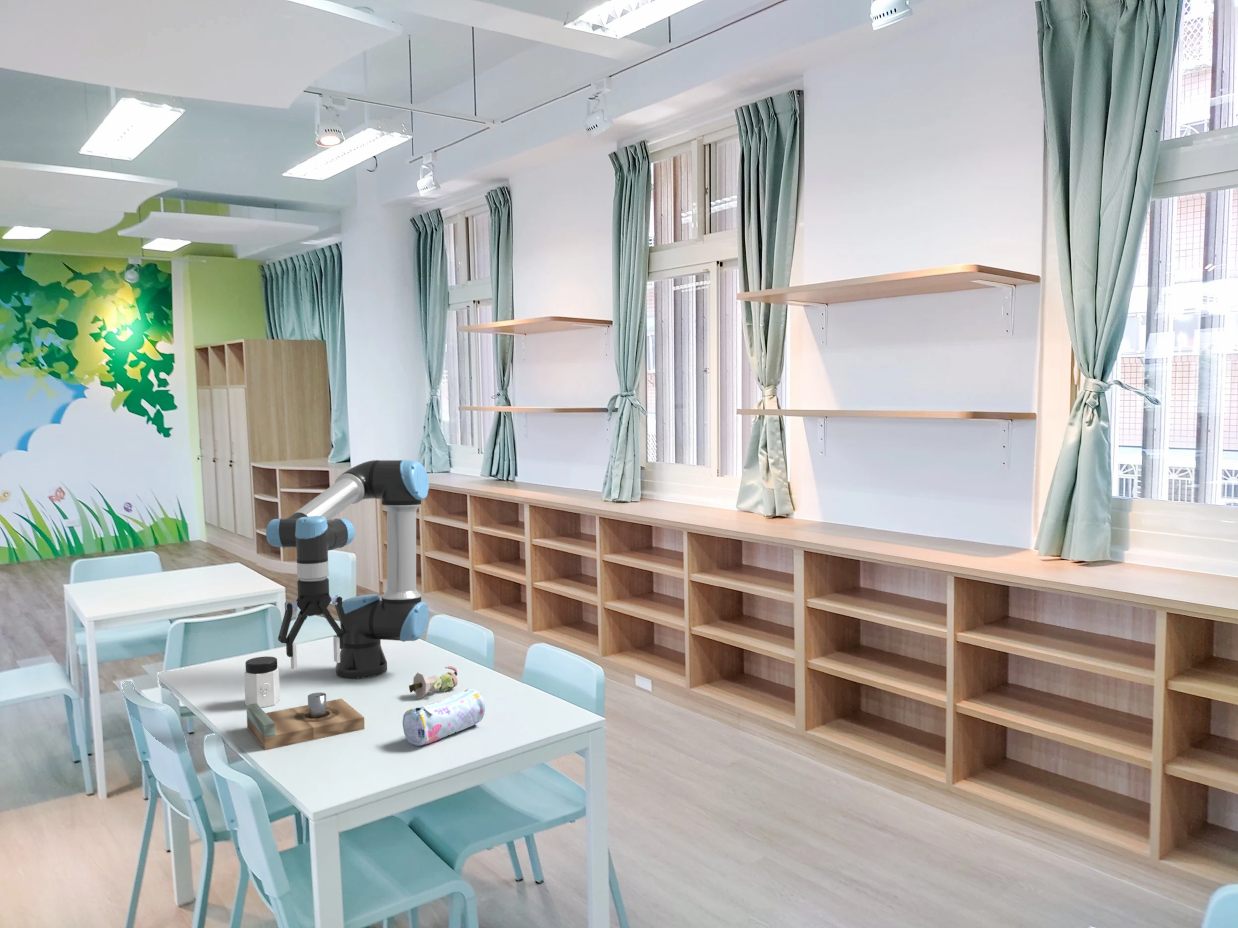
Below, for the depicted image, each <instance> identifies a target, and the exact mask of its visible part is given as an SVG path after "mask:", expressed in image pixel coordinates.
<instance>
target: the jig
mask: <svg viewBox="0 0 1238 928" xmlns="http://www.w3.org/2000/svg"><path fill="white" fill-rule="evenodd" d="M326 711H327V716H326V717H323V718H318V719H309V718H308V704H306V705H302V706H301V705H300V706H297V707H290V708H285V709H279V710H274V711H270V712H265V710H263V708H260V707H259V705H258V704H257V703H255V704H249V705H247V706H246V728H247V731H249V732H250V733H251V734H252V736H253V738H254V739H256V741H257V742H258V743H259V745H260V746H261V747H262V748H263V750H264V751H267V750H272V749H276V748H282V747H286V746H290V745H295V744H302V743H304V742H309V741H314V740H318V739H323V738H328V737H333V736H336V735H337V736H338V735H341V734H346V733H352V732H356V731H357V732H358V731H361V730H365V716H363V715H362V714H361V713H360V712H358V711H357V710H356V709H355V708H354V707H353V706H351V705H350V704H349V703H347V702H346V701H345V700H344V699H343V698H337V699H332V700H326Z"/></svg>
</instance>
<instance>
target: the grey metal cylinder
mask: <svg viewBox="0 0 1238 928" xmlns="http://www.w3.org/2000/svg"><path fill="white" fill-rule="evenodd" d="M326 701H327V694H326V693H325V692H313V693H309V694H308V695H307V705H308V718H309V719H318V718H323V717H326V716H327V711H326Z"/></svg>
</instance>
